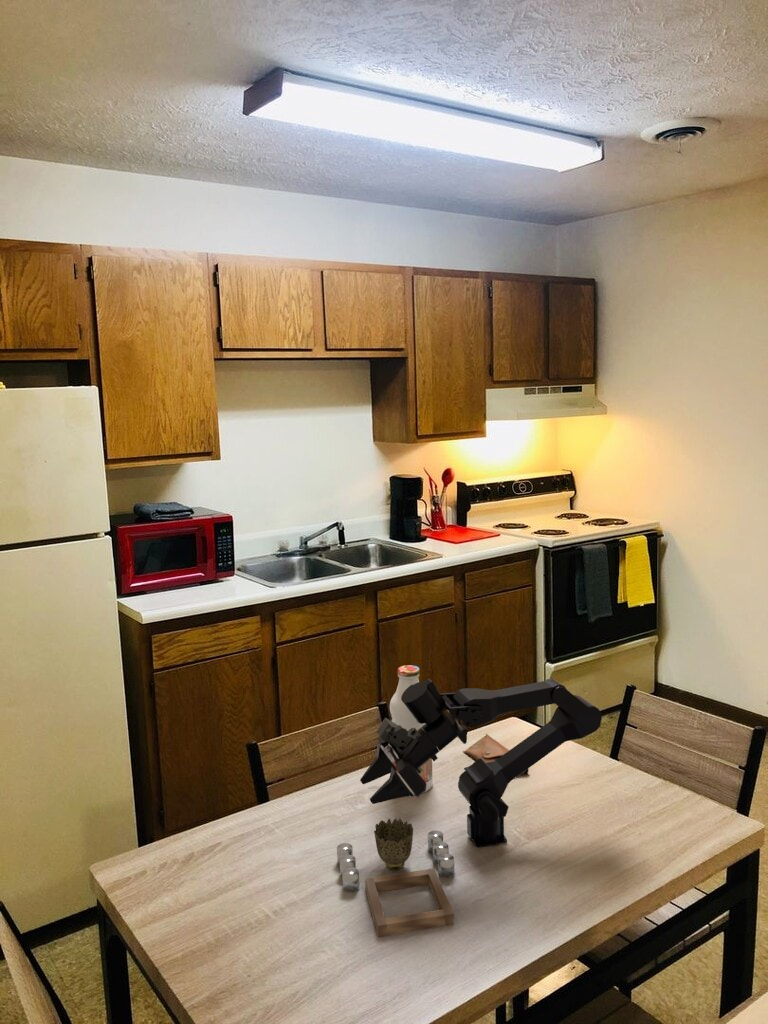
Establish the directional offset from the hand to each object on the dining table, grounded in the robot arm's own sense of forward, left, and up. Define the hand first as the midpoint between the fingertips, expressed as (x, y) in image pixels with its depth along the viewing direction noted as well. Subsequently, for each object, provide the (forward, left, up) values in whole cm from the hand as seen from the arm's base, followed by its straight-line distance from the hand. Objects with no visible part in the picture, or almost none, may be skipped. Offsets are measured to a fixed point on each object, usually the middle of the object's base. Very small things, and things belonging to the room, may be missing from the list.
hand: (366, 791), depth 147 cm
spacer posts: (-4, +3, -14) cm, 15 cm away
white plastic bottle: (-14, -26, -15) cm, 33 cm away
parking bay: (-4, +15, -14) cm, 21 cm away
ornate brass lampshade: (-4, +3, -15) cm, 16 cm away
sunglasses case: (-36, -32, -15) cm, 51 cm away
